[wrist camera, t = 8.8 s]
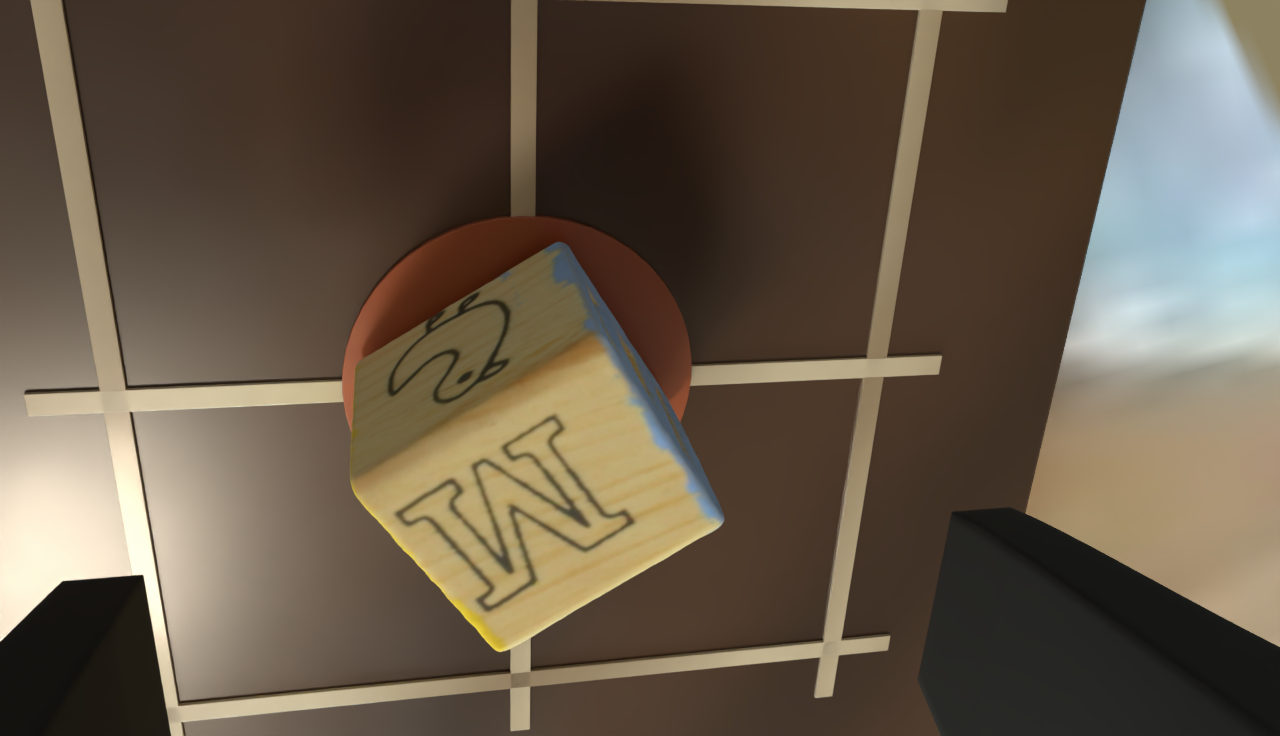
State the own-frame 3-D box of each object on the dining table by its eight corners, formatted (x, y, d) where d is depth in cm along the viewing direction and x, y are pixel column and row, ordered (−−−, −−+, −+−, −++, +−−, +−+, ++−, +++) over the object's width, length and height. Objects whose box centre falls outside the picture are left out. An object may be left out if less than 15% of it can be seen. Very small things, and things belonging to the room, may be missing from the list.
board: (29, 912, 18) (4, 984, 17) (-393, -655, 10) (-498, -722, 8) (920, 795, 21) (950, 848, 20) (1189, -451, 13) (1267, -480, 12)
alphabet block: (674, 408, 15) (737, 531, 12) (482, 524, 15) (503, 671, 12) (560, 229, 14) (602, 324, 11) (349, 360, 14) (339, 485, 11)
